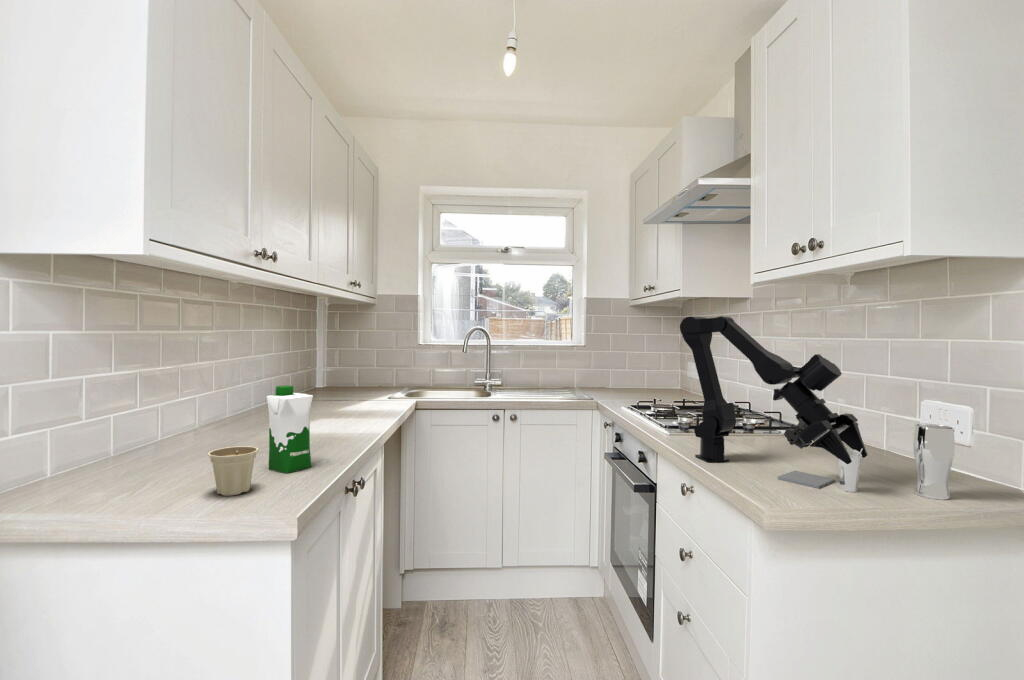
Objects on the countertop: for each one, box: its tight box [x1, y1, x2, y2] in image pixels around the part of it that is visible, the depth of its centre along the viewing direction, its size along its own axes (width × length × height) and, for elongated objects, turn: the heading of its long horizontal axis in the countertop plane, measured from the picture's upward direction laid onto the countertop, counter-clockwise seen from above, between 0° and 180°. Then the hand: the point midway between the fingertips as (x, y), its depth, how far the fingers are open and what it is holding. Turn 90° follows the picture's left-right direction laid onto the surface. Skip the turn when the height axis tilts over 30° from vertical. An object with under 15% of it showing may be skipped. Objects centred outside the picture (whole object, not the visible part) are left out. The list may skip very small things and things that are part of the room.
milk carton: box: [266, 385, 314, 474], centre depth 131 cm, size 9×9×20 cm
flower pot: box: [207, 445, 259, 497], centre depth 113 cm, size 9×9×9 cm
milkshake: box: [837, 447, 863, 493], centre depth 118 cm, size 4×5×10 cm
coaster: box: [777, 469, 836, 489], centre depth 126 cm, size 9×9×1 cm
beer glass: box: [912, 423, 956, 501], centre depth 115 cm, size 7×7×15 cm
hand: (857, 459), depth 117 cm, fingers open, 9 cm apart
